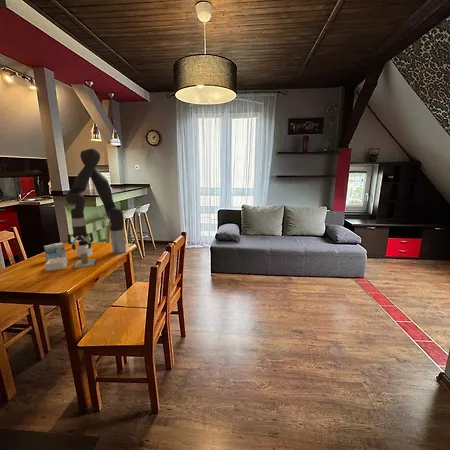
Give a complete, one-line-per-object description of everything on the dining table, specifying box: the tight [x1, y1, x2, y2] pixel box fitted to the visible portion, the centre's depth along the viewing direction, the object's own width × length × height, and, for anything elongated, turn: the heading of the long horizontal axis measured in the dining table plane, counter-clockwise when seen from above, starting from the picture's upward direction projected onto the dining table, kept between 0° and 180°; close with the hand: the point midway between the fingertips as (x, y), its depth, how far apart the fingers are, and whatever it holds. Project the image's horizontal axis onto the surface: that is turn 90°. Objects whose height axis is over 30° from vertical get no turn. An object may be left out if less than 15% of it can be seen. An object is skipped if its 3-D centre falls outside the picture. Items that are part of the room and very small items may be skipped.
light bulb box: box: [43, 241, 67, 262], centre depth 176 cm, size 11×7×11 cm, turn 143°
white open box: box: [44, 256, 68, 272], centre depth 161 cm, size 10×10×5 cm
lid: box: [73, 253, 97, 269], centre depth 165 cm, size 11×11×7 cm
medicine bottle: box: [75, 240, 93, 258], centre depth 181 cm, size 7×7×12 cm
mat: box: [70, 258, 99, 270], centre depth 166 cm, size 14×12×1 cm
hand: (82, 249), depth 164 cm, fingers open, 8 cm apart
